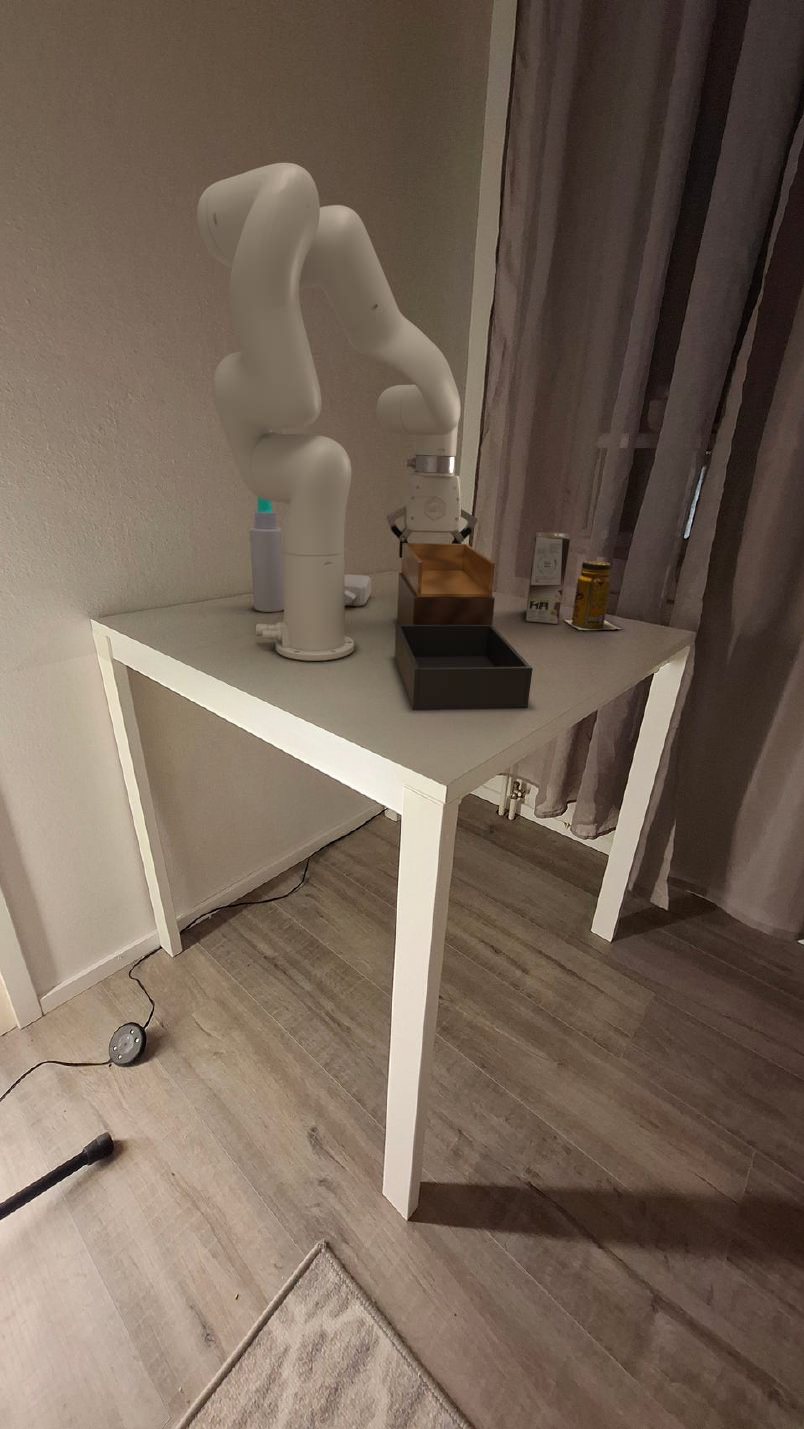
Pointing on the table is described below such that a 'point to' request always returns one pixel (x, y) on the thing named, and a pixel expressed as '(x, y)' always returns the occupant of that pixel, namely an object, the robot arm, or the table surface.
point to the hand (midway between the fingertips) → (429, 562)
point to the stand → (441, 608)
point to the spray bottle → (266, 559)
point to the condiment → (592, 597)
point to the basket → (460, 667)
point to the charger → (357, 589)
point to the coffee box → (547, 577)
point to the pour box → (447, 570)
